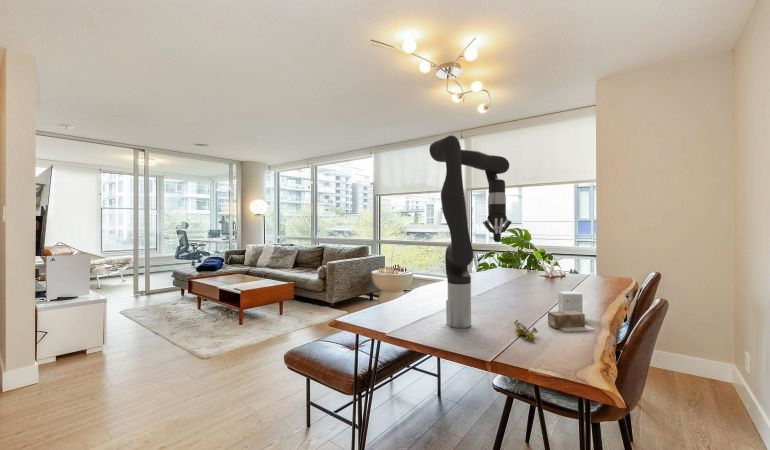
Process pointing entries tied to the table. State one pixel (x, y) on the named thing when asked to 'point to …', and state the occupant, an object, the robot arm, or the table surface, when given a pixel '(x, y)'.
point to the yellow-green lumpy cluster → (524, 330)
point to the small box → (570, 301)
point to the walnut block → (566, 319)
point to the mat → (577, 328)
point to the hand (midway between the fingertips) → (497, 241)
